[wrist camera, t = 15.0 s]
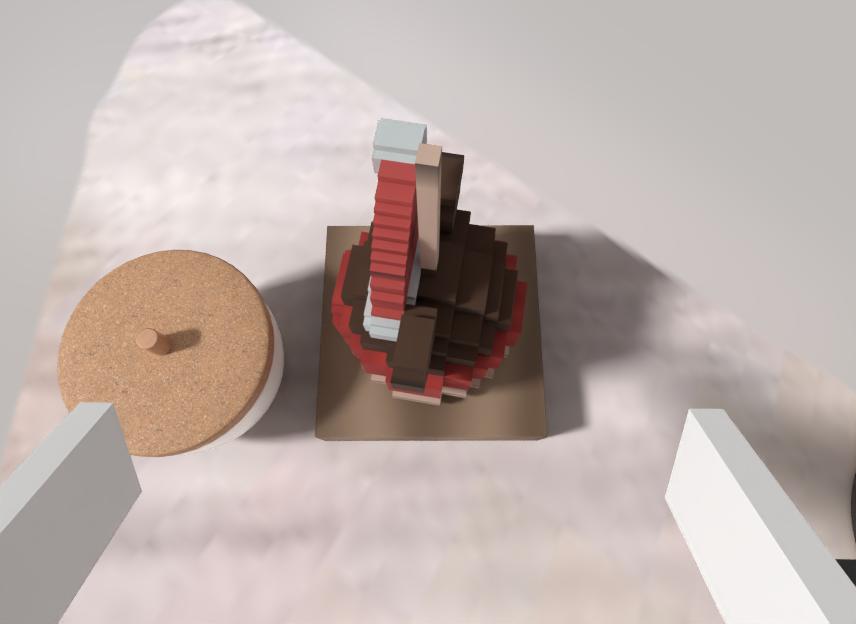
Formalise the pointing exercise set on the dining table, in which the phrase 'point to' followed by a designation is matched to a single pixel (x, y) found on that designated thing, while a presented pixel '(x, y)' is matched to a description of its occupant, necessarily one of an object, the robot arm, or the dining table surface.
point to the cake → (426, 277)
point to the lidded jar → (174, 352)
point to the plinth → (455, 417)
